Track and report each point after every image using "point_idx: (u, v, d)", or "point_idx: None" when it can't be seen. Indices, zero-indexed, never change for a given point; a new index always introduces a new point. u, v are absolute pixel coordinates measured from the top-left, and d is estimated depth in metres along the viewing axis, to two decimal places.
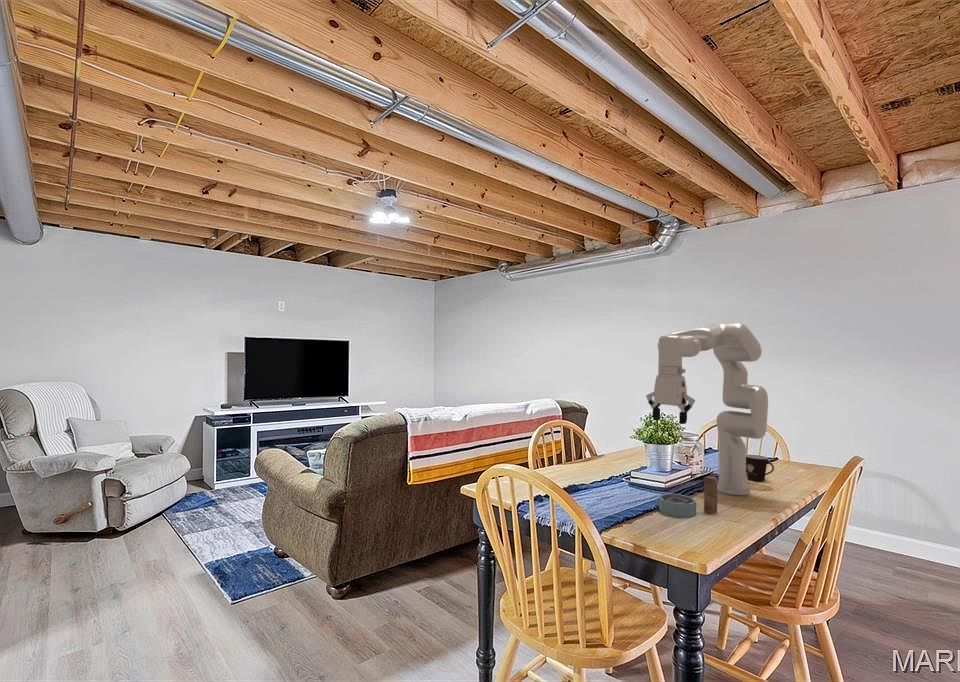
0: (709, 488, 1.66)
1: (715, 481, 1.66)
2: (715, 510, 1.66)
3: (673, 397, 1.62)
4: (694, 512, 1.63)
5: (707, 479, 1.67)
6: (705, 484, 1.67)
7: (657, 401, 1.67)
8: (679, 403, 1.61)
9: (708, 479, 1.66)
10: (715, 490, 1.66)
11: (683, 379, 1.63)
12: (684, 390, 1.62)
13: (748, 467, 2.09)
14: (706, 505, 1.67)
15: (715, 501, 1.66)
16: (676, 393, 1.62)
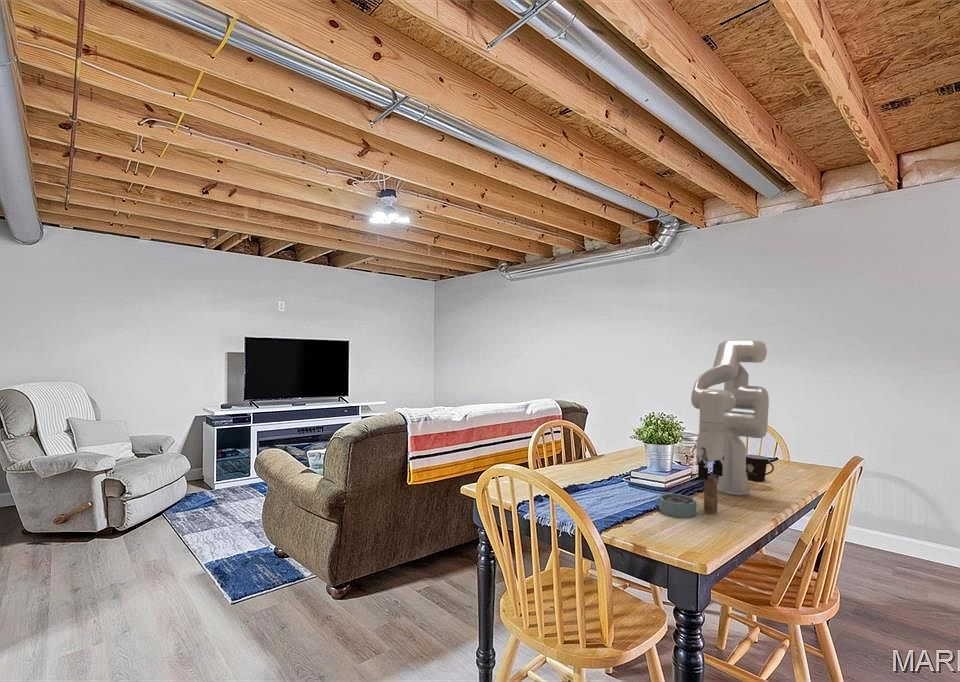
0: (709, 488, 1.66)
1: (715, 481, 1.66)
2: (715, 510, 1.66)
3: (721, 452, 1.67)
4: (694, 512, 1.63)
5: None
6: (705, 484, 1.67)
7: (711, 459, 1.63)
8: None
9: (708, 479, 1.66)
10: (715, 490, 1.66)
11: None
12: None
13: (748, 467, 2.09)
14: (706, 505, 1.67)
15: (715, 501, 1.66)
16: (722, 447, 1.67)
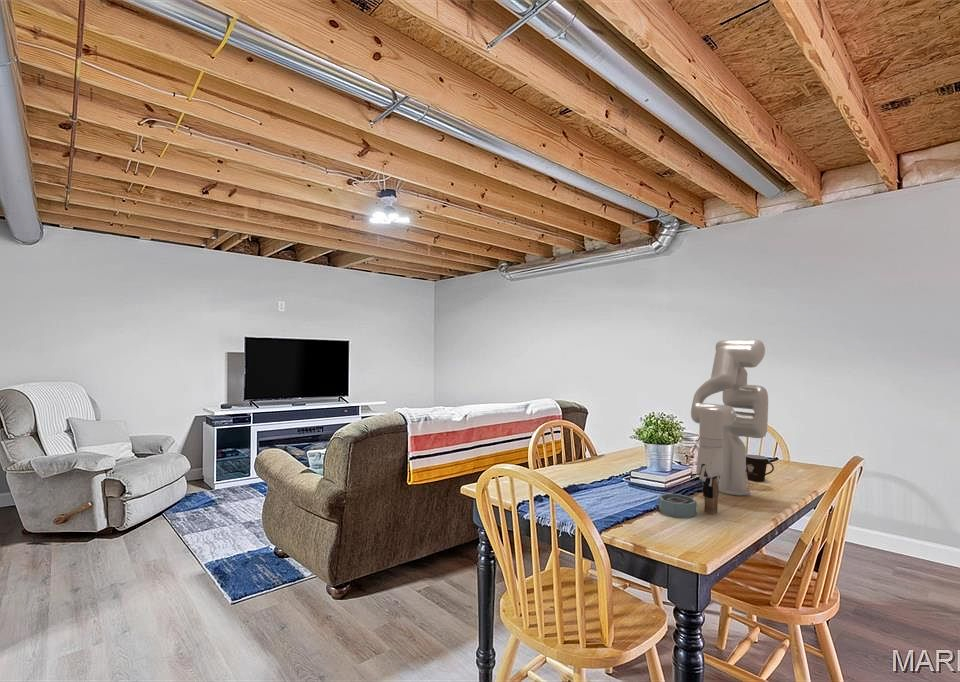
0: None
1: (715, 481, 1.66)
2: (715, 510, 1.66)
3: (721, 467, 1.67)
4: (694, 512, 1.63)
5: None
6: None
7: (711, 475, 1.64)
8: None
9: (708, 479, 1.66)
10: (716, 490, 1.66)
11: None
12: None
13: (748, 467, 2.09)
14: (706, 505, 1.67)
15: (715, 501, 1.66)
16: (722, 463, 1.68)
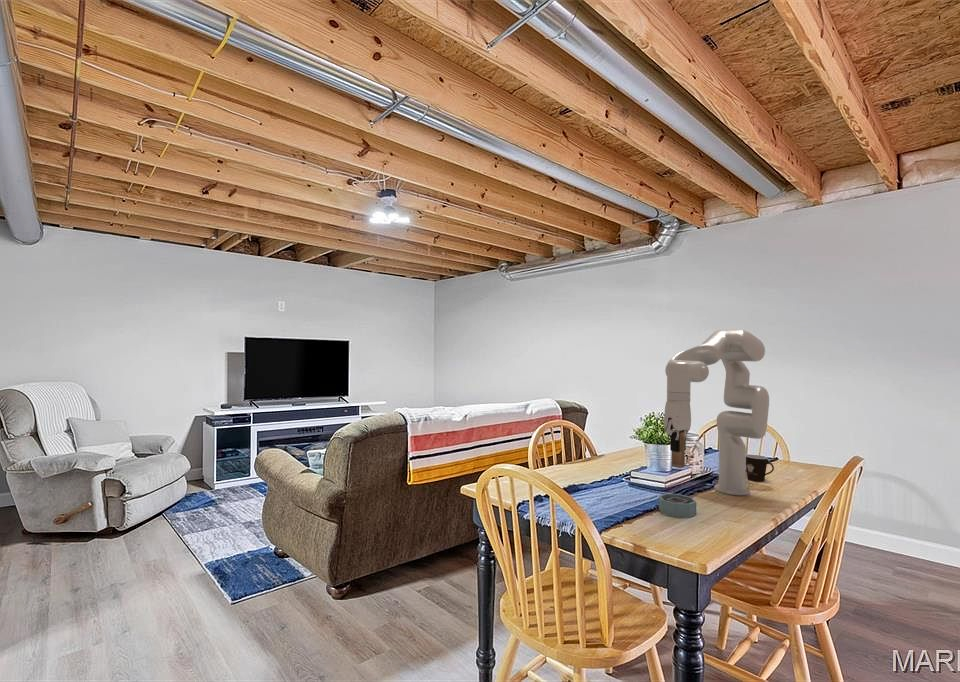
0: None
1: (682, 435, 1.66)
2: (682, 464, 1.66)
3: (688, 422, 1.67)
4: (694, 512, 1.63)
5: None
6: None
7: (678, 429, 1.64)
8: (690, 426, 1.69)
9: (675, 433, 1.67)
10: (682, 444, 1.66)
11: None
12: None
13: (748, 467, 2.09)
14: (674, 459, 1.67)
15: (682, 455, 1.66)
16: (690, 417, 1.68)
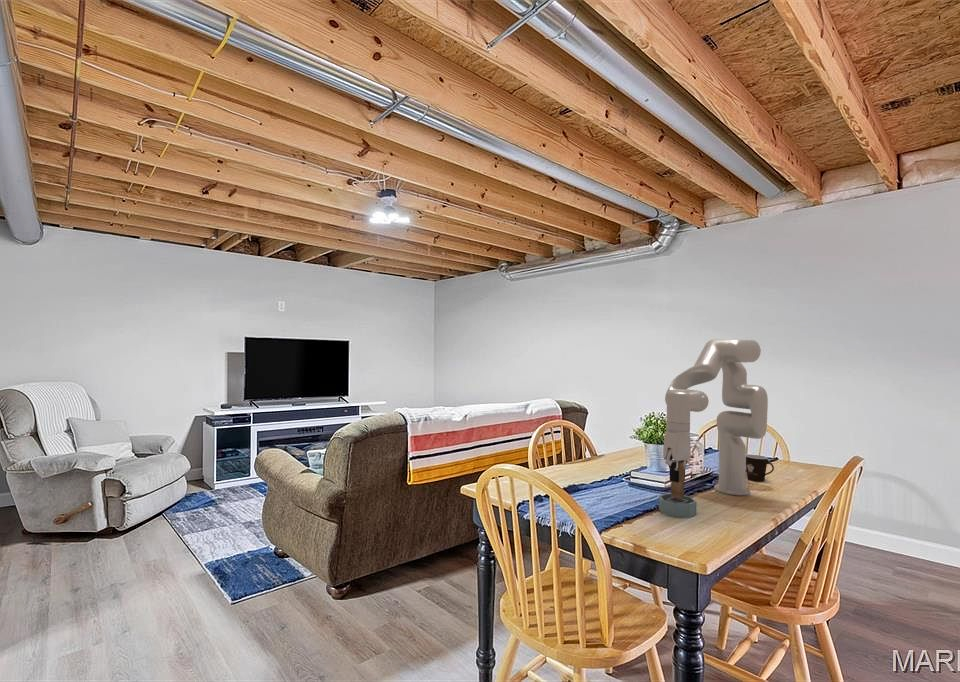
0: None
1: (682, 465, 1.66)
2: (682, 494, 1.66)
3: (688, 452, 1.67)
4: (694, 512, 1.63)
5: (674, 463, 1.67)
6: None
7: (677, 459, 1.64)
8: None
9: None
10: (682, 474, 1.66)
11: None
12: None
13: (748, 467, 2.09)
14: (673, 489, 1.67)
15: (682, 485, 1.66)
16: (689, 447, 1.68)
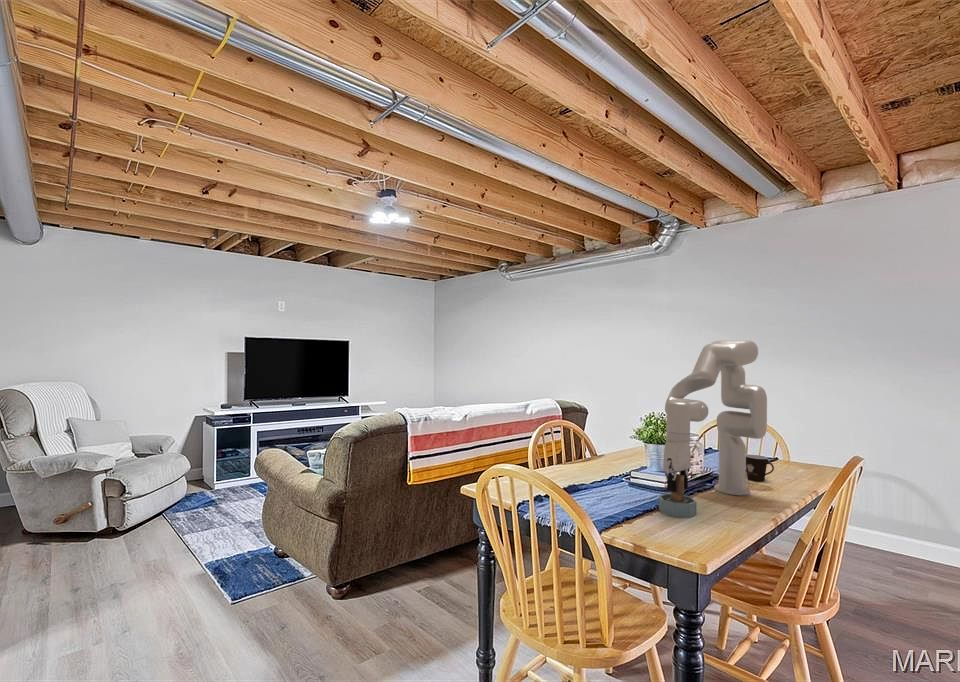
0: None
1: (682, 479, 1.66)
2: None
3: (688, 462, 1.67)
4: (694, 512, 1.63)
5: None
6: None
7: (677, 470, 1.64)
8: None
9: None
10: (682, 488, 1.66)
11: None
12: None
13: (748, 467, 2.09)
14: None
15: (682, 499, 1.66)
16: (689, 457, 1.68)
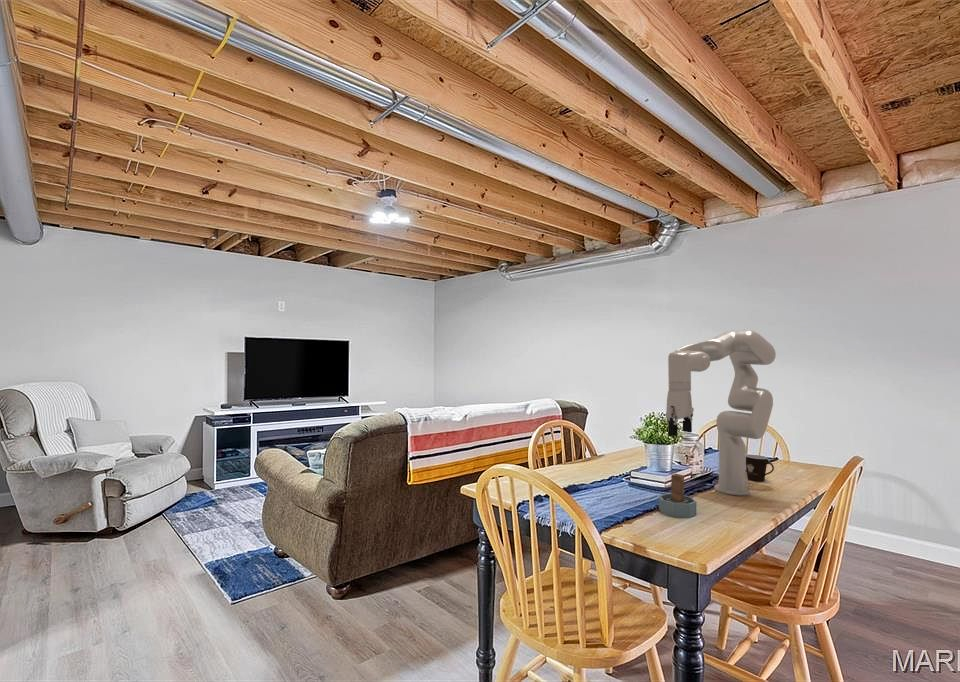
0: (676, 485, 1.66)
1: (682, 479, 1.66)
2: None
3: (689, 409, 1.76)
4: (694, 512, 1.63)
5: (674, 477, 1.67)
6: (672, 482, 1.67)
7: (680, 416, 1.72)
8: None
9: (675, 477, 1.66)
10: (682, 488, 1.66)
11: None
12: None
13: (748, 467, 2.09)
14: None
15: (682, 499, 1.66)
16: (691, 405, 1.76)
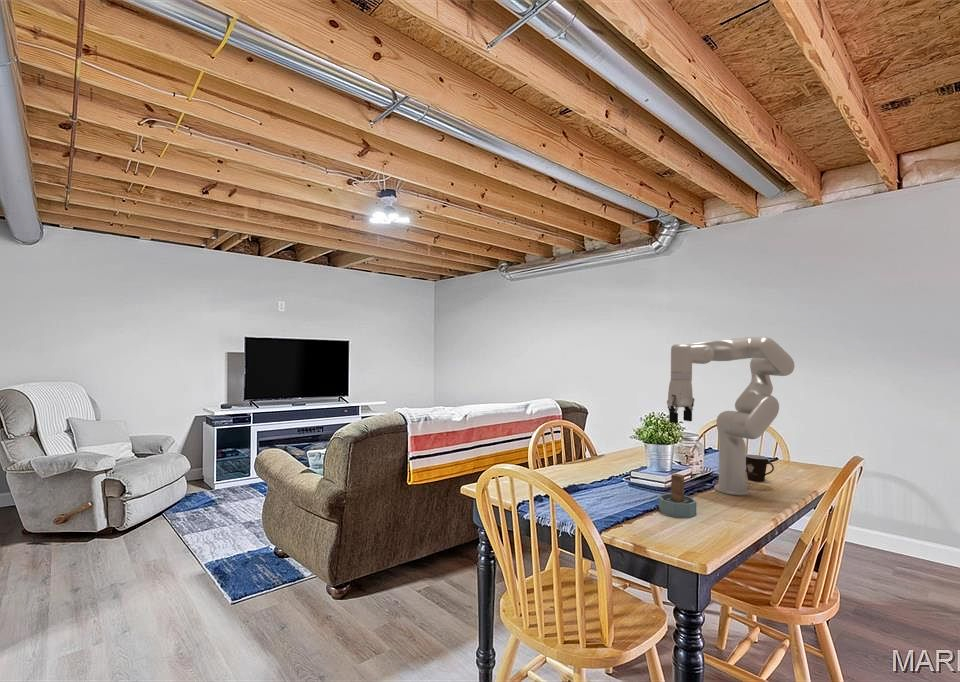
0: (676, 485, 1.66)
1: (682, 479, 1.66)
2: None
3: (690, 399, 1.85)
4: (694, 512, 1.63)
5: (674, 477, 1.67)
6: (672, 482, 1.67)
7: (681, 405, 1.81)
8: (691, 403, 1.86)
9: (675, 477, 1.66)
10: (682, 488, 1.66)
11: None
12: None
13: (748, 467, 2.09)
14: None
15: (682, 499, 1.66)
16: (691, 395, 1.86)
